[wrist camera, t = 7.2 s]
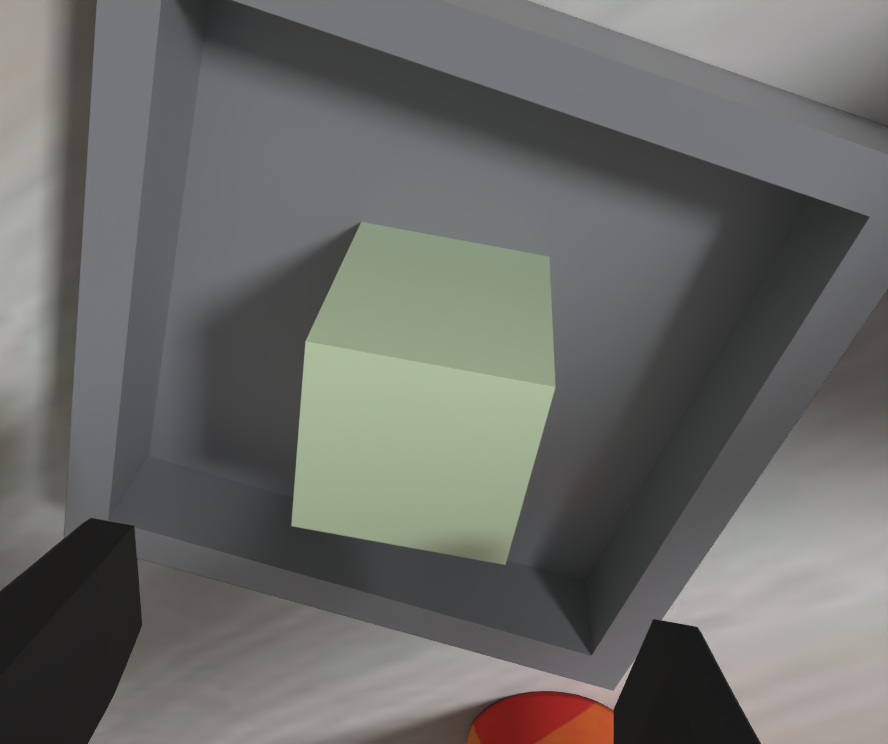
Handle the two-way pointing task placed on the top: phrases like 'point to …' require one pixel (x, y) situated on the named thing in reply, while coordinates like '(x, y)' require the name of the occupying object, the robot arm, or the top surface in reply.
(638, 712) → the robot arm
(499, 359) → the green block
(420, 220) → the tray
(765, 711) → the top surface
